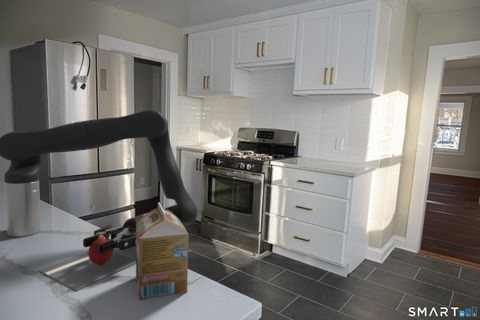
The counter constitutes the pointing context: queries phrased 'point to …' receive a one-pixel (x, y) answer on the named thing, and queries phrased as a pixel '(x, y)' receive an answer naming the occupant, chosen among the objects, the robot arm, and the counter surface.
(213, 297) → the counter surface
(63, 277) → the mat
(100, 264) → the onion
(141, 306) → the counter surface
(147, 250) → the milk carton
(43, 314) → the counter surface
